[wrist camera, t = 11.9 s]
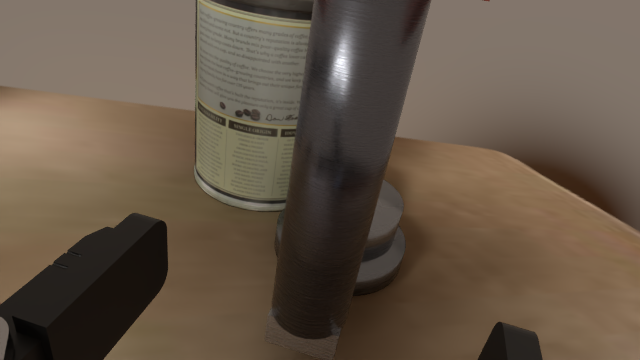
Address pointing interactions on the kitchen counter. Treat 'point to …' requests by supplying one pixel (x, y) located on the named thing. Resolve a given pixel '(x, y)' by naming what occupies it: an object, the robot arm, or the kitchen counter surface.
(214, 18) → the coffee can
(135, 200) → the kitchen counter surface
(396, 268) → the base
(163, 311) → the kitchen counter surface
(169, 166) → the kitchen counter surface
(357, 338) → the kitchen counter surface
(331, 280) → the crank
